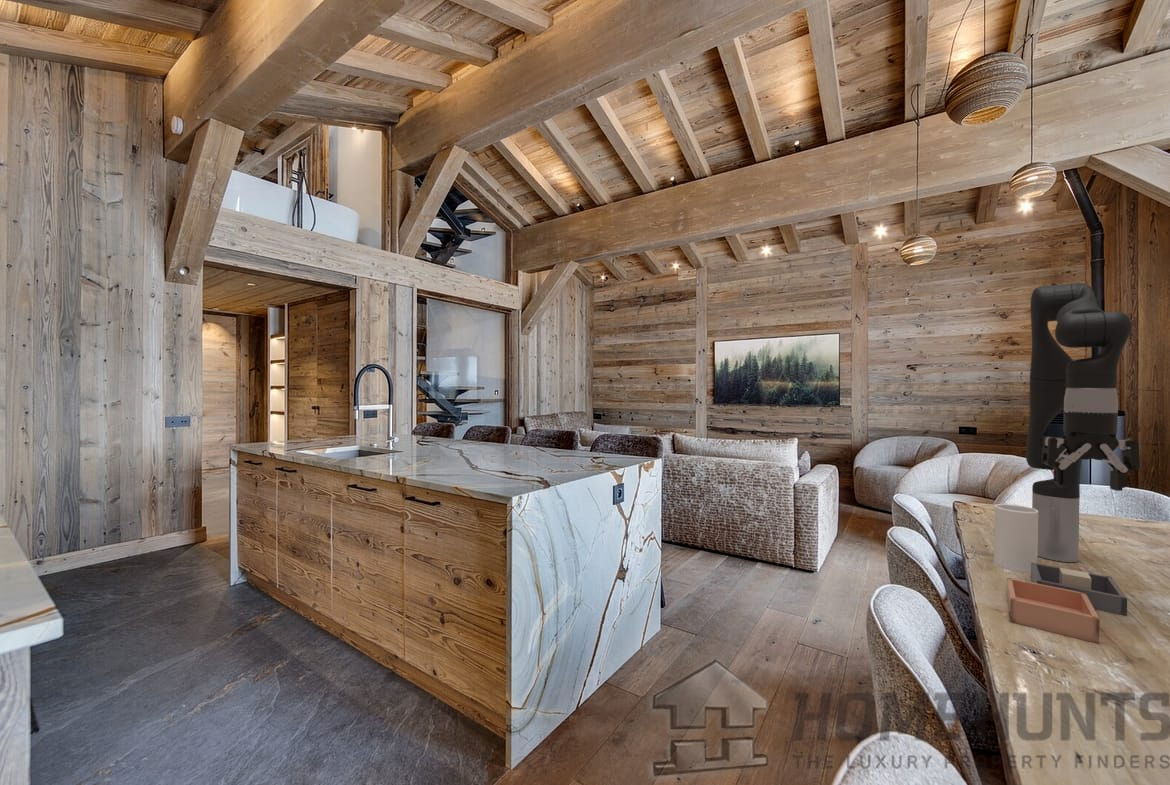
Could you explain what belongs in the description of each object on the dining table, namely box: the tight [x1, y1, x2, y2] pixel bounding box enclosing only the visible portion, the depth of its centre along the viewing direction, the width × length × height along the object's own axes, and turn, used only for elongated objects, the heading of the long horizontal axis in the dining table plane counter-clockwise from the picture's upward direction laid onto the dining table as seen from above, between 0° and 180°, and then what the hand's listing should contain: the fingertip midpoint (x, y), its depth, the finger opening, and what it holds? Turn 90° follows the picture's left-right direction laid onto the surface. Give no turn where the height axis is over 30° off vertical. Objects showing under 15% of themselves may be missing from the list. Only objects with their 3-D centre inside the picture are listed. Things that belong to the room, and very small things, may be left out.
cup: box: [993, 503, 1039, 573], centre depth 119 cm, size 8×8×16 cm
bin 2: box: [1030, 562, 1128, 617], centre depth 103 cm, size 14×13×4 cm
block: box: [1059, 567, 1091, 590], centre depth 103 cm, size 4×4×5 cm
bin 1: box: [1006, 577, 1101, 644], centre depth 94 cm, size 14×12×4 cm
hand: (1088, 488), depth 96 cm, fingers open, 8 cm apart
